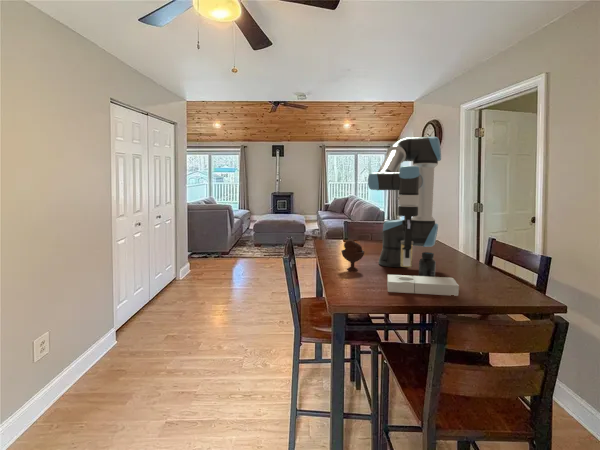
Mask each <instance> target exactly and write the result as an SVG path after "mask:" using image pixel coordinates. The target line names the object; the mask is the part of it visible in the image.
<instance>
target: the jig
mask: <svg viewBox="0 0 600 450" xmlns="http://www.w3.org/2000/svg"><path fill="white" fill-rule="evenodd" d="M386 278H387V281H386V284H387V285H386V286H387V293H388V292H389V293H400V294H401V293H403V294H404V293H405V294H421V295H433V296H434V295H436V296H437V295H439V296H451V295H454V296H453V297H455V296H456V297H459V293H460V292H459V291H460V285H459V284H458V282H457V281H456V280H455V278H453V277H449V276H447V277H446V276H445V277H444V276H441V277H440V276H435V277H428V276H419V275H408V274H407V275H404V274H403V275H402V274H387V276H386Z"/></svg>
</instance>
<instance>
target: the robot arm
mask: <svg viewBox="0 0 600 450" xmlns="http://www.w3.org/2000/svg"><path fill="white" fill-rule="evenodd" d="M441 160H442V148H441V142H440V139H439V137H437V136H420V137H418V136H417V137H405V138H402V139H399V140H398V141H395V142H393V144H392V145H390V146H389V148H388V149H387V151H386V154H385V158H384V159H383V162H382V163H381V166H379V168H378V170H377V172H376V171H375V172H370V173H369V174H368V177H367V185H368V188H369V190H372V191H398V197H396V200H398V205H399V206H398V207H397V209H398V210H397V211H398V212H397V215H398V216H400V217H404V218H403V219H393V220H391V219H390V220H386V221H385V222H383V225H382V226H383V227H382V250H381V252H380V255H379V258H378V265H379V266H383V267H388V268H403V267H402V266H400V263H401V241H402V240H404V248H402V250H404V252H403V266H410V261H411V248H412V247H411V242H412V241H413V247H423V248H425V247H427V248H428V247H430V248H431V247H434V246H435V244H436V240H437V236H438V235H437V234H438V228H439V224H438V223H436V219H435V218H434V217H433V208H434V207H433V205H434V204H433V201H434V182H435V181H434V180H435V168H436V167H437V166H438V164H439V162H440V161H441ZM404 162H412V165H403V166H401V167H400V165H401V164H402V163H404ZM398 170H399V171H398Z"/></svg>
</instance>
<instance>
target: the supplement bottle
mask: <svg viewBox="0 0 600 450" xmlns="http://www.w3.org/2000/svg"><path fill="white" fill-rule="evenodd" d="M434 255H435V254H434V253H433V252H427V251H425V252H422V253H421V258H420V259H419V261H418V276H428V277H436V266H437V265H436V263H437V262H436V260H435V259H434Z"/></svg>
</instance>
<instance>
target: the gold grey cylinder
mask: <svg viewBox="0 0 600 450" xmlns="http://www.w3.org/2000/svg"><path fill="white" fill-rule="evenodd" d="M411 247H412V248H411V261H410V266H403V252H404V250H402V248H404V240H402V241H401V263H400V266H402V267H401V268H412V266H413V247H414V246H413V241H412V242H411Z"/></svg>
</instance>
